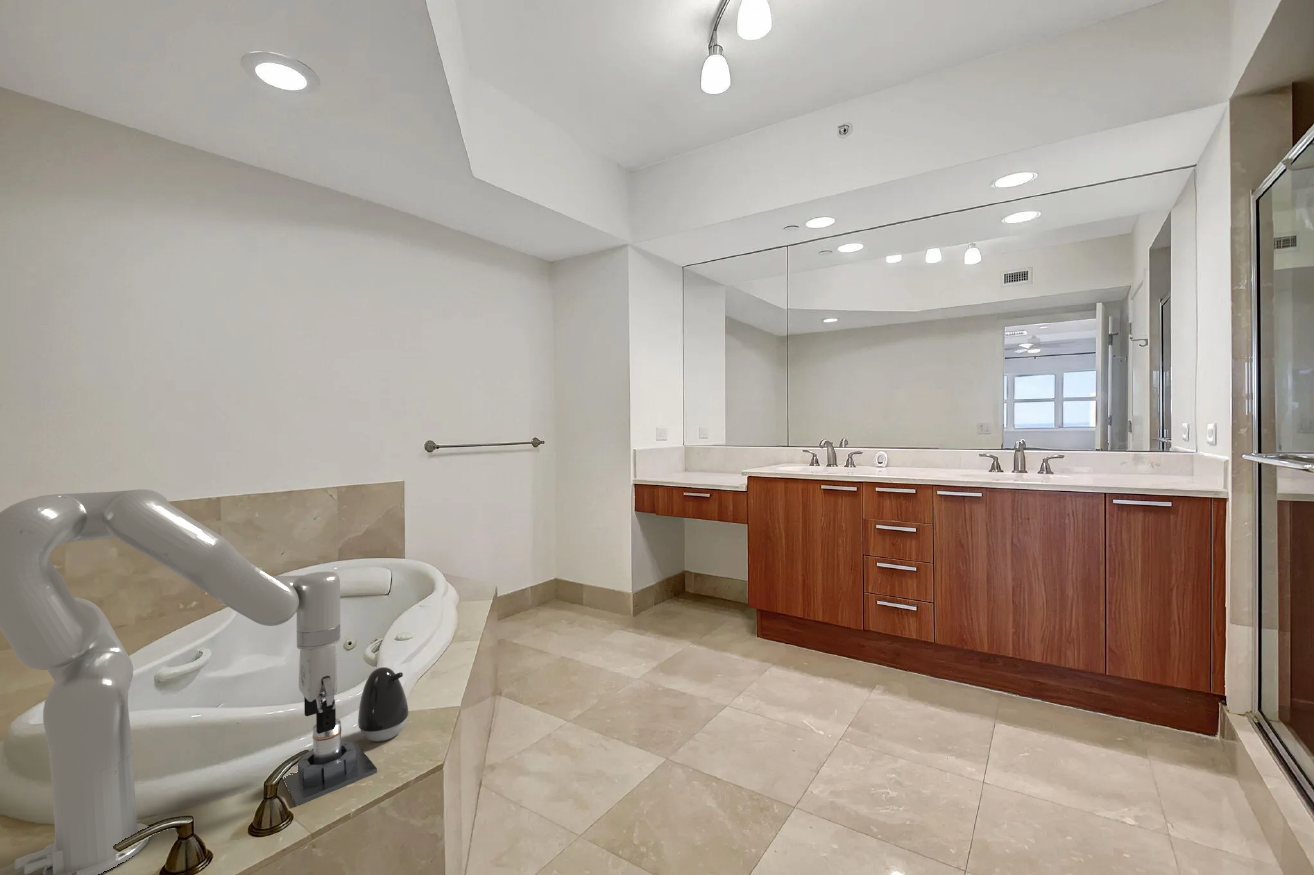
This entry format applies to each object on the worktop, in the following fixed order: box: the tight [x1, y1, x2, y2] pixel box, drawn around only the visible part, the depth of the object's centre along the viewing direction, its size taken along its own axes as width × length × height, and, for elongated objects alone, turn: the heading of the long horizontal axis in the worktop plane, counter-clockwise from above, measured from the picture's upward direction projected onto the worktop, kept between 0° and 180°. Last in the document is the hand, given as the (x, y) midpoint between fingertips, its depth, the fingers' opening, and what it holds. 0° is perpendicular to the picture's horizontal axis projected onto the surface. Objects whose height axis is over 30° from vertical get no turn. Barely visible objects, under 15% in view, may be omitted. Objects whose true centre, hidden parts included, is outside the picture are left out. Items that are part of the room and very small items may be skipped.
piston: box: [312, 718, 342, 765], centre depth 115 cm, size 5×5×9 cm
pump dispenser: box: [357, 666, 409, 742], centre depth 129 cm, size 10×10×15 cm
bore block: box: [283, 741, 378, 807], centre depth 115 cm, size 14×14×4 cm
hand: (319, 722), depth 114 cm, fingers open, 9 cm apart
